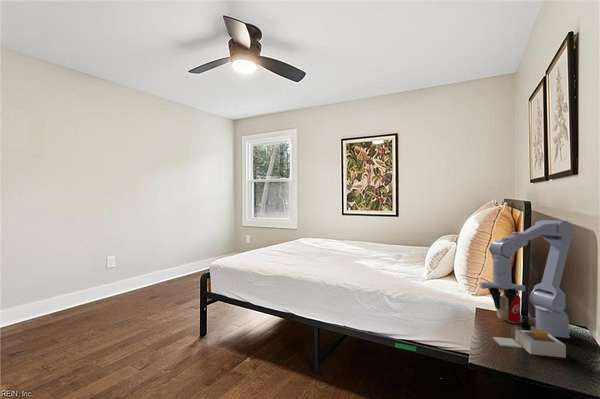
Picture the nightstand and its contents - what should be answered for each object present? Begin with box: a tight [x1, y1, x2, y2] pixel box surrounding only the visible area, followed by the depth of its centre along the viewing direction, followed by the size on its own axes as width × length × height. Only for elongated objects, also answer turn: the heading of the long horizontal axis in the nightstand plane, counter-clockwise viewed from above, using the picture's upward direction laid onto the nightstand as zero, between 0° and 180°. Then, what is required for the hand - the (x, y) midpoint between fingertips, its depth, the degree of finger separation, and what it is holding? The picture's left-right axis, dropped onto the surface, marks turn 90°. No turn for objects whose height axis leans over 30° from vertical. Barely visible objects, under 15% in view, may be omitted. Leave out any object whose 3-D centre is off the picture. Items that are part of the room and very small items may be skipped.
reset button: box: [530, 328, 548, 339], centre depth 101 cm, size 3×3×3 cm
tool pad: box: [493, 336, 523, 349], centre depth 105 cm, size 6×6×1 cm
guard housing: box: [514, 329, 567, 359], centre depth 101 cm, size 10×10×4 cm
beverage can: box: [502, 292, 522, 324], centre depth 126 cm, size 6×6×12 cm
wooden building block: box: [496, 295, 508, 321], centre depth 111 cm, size 3×3×8 cm
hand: (502, 308), depth 111 cm, fingers closed on wooden building block, 3 cm apart
